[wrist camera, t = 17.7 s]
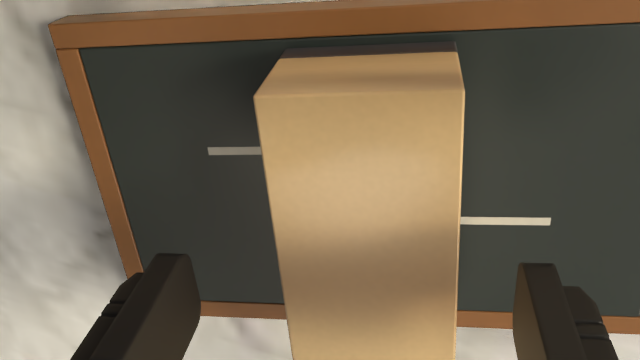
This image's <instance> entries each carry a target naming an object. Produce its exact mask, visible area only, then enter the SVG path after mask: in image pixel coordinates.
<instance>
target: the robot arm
mask: <svg viewBox="0 0 640 360" xmlns="http://www.w3.org/2000/svg"><path fill="white" fill-rule="evenodd" d="M101 314H102V315H101V316H99V317H98V319H97V320H96V322H95V323H94V325H93V326H92V328H91V329H90V331H89V332H88V334H87V335H86V337H85V338H84V340H83V341H82V343H81V344H80V346H79V347H78V349H77V350H76V352H75V353H74V355H73V356H72V358H71V359H70V360H182V359H183V357H184V355H185V352H186V350H187V348H188V346H189V344H190V341H191V339H192V337H193V335H194V332H195V330H196V328H197V326H198V323H199V320H200V315H201V300H200V295H199V291H198V287H197V283H196V279H195V275H194V271H193V266H192V262H191V259H190V257H189V255H188V254H179V253H158V254H156V255H155V256H154V258H153V259H152V261H151V262H150V264H149V265H148V267H147V269H146V270H145V272H144V273H141V272H136V273H135V274H134V275H133V276H131V277H130V278H129V279H128V280H126V281H125V282H124V283H123V284H121V285H120V286H119V288H118V289H117V291H116V292H115V294H114V295H113V297H112V298H111V300H110V303H109V304H107V306H106V307H105V309H104V310H103V312H102V313H101ZM512 321H513V336H514V342H515V347H516V352H517V357H518V360H618V357H617V355H616V352H615V350H614V347H613V345H612V342H611V340H609V335H608V332H607V330H606V327H605V325H603V319H602V317H601V314H600V312H599V309H598V307H597V304H596V303H595V302H594V301H593V300H592V299H591V298H590V297H589V296H588V295H587V294H586V293H585V292H584V291H583V290H582V289H581V288H580V287H576V286H562V283H561V280H560V277H559V275H558V272H557V269H556V266H555V264H553V263H519V266H518V272H517V280H516V289H515V298H514V306H513V320H512Z"/></svg>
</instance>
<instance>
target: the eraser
mask: <svg viewBox="0 0 640 360" xmlns="http://www.w3.org/2000/svg"><path fill="white" fill-rule="evenodd" d="M253 101H254V108H255V114H256V121H257V128H258V134H259V141H260V147H261V154H262V160H263V167H264V173H265V180H266V187H267V193H268V200H269V206H270V213H271V219H272V226H273V233H274V239H275V246H276V252H277V259H278V265H279V272H280V278H281V285H282V292H283V298H284V305H285V311H286V318H287V324H288V331H289V338H290V344H291V351H292V357H293V360H455V350H456V324H457V297H458V271H459V244H460V218H461V191H462V165H463V138H464V112H465V88H464V83H463V78H462V73H461V67H460V62H459V57H458V51H457V46H456V42H455V41H445V42H422V43H399V44H376V45H353V46H330V47H308V48H287V49H285V51H284V52H283V54H282V55H281V56H280V58H279V60H278V61H277V63H276V64H275V65H274V67H273V68H272V70H271V71H270V73H269V74H268V76H267V77H266V78H265V80H264V81H263V83H262V84H261V86H260V87H259V88H258V90H257V91H256V93H255V94H254V96H253Z"/></svg>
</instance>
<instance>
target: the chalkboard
mask: <svg viewBox="0 0 640 360" xmlns="http://www.w3.org/2000/svg"><path fill="white" fill-rule="evenodd" d="M48 28H49V31H50V34H51V37H52V40H53V43H54V47H55V48H56V53H57V56H58V59H59V63H60V66H61V69H62V72H63V75H64V78H65V82H66V85H67V88H68V91H69V94H70V98H71V101H72V104H73V107H74V110H75V113H76V117H77V120H78V123H79V126H80V129H81V133H82V136H83V139H84V142H85V145H86V148H87V152H88V155H89V158H90V161H91V164H92V168H93V171H94V174H95V177H96V180H97V183H98V187H99V190H100V193H101V196H102V199H103V203H104V206H105V209H106V212H107V215H108V218H109V222H110V225H111V228H112V231H113V234H114V237H115V241H116V244H117V247H118V250H119V253H120V257H121V260H122V263H123V266H124V269H125V272H126V276H127V279H129V278H130V277H131V276H133V275H134V274H135V273H136V272H141V273H144V272H145V270H146V269H147V267H148V265H149V264H150V262H151V261H152V259H153V258H154V256H155V255H156V254H158V253H179V254H188V255H189V257H190V259H191V262H192V266H193V271H194V275H195V279H196V283H197V287H198V291H199V295H200V300H201V315H200V316H217V317H241V318H264V319H287V318H286V311H285V305H284V298H283V292H282V285H281V278H280V272H279V265H278V259H277V252H276V246H275V239H274V233H273V226H272V219H271V213H270V206H269V200H268V193H267V187H266V180H265V173H264V167H263V160H262V154H261V147H260V141H259V134H258V128H257V121H256V114H255V108H254V101H253V96H254V94H255V93H256V91H257V90H258V88H259V87H260V86H261V84H262V83H263V81H264V80H265V78H266V77H267V76H268V74H269V73H270V71H271V70H272V68H273V67H274V65H275V64H276V63H277V61H278V60H279V58H280V56H281V55H282V54H283V52H284V51H285V49H287V48H308V47H330V46H353V45H376V44H399V43H422V42H445V41H455V42H456V46H457V51H458V57H459V62H460V67H461V73H462V78H463V83H464V88H465V112H464V138H463V165H462V191H461V218H460V244H459V271H458V297H457V324H456V327H477V328H501V329H513V321H512V320H513V306H514V298H515V289H516V280H517V272H518V266H519V263H553V264H555V266H556V269H557V272H558V275H559V277H560V280H561V283H562V286H576V287H580V288H581V289H582V290H583V291H584V292H585V293H586V294H587V295H588V296H589V297H590V298H591V299H592V300H593V301H594V302H595V303H596V304H597V307H598V309H599V312H600V314H601V317H602V319H603V325H605V327H606V330H607V332H608V333H620V334H640V0H339V1H321V2H303V3H285V4H268V5H250V6H232V7H214V8H196V9H179V10H161V11H143V12H125V13H107V14H90V15H72V16H66V17H64V18H62V19H59V20H57V21H55V22H53V23H50V24H49V25H48Z"/></svg>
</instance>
